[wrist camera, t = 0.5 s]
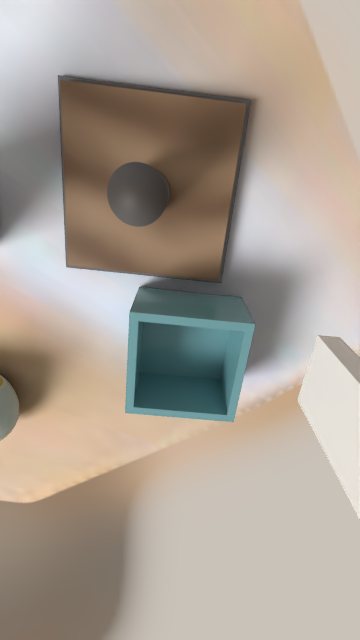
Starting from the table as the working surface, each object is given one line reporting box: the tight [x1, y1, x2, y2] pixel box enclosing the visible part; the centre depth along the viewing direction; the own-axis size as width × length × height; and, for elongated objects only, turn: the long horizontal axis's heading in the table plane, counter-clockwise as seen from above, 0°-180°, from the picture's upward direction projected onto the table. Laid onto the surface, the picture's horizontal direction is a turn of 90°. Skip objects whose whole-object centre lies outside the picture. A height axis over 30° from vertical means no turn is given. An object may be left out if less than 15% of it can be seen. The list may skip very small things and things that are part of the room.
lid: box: [60, 80, 246, 281], centre depth 25 cm, size 15×15×9 cm
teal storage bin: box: [125, 287, 255, 422], centre depth 32 cm, size 11×11×7 cm
